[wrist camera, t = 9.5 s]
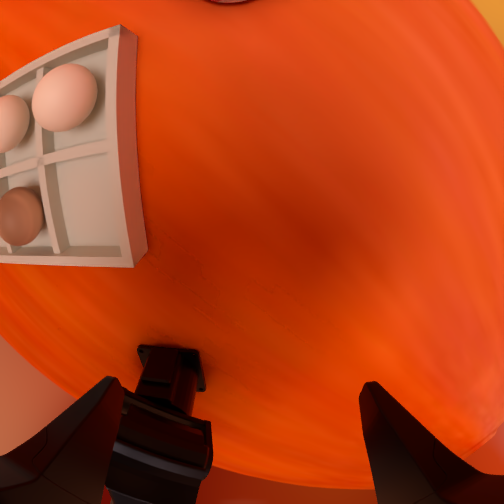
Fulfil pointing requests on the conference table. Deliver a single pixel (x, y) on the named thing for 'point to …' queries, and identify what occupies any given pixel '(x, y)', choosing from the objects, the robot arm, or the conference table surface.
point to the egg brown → (20, 216)
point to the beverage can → (227, 1)
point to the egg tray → (82, 162)
